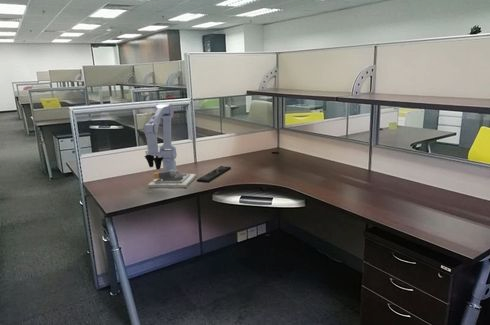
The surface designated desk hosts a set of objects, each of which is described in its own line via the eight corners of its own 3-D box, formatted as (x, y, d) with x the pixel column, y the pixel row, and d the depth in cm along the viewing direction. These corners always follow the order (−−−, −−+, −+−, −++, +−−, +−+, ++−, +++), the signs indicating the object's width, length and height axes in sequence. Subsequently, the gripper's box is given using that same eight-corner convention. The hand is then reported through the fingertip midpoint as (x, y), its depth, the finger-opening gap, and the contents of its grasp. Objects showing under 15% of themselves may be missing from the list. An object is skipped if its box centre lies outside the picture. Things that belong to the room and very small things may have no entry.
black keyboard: (231, 169, 236) (231, 166, 235) (208, 183, 207) (208, 180, 207) (220, 168, 239) (220, 165, 238) (197, 182, 210) (196, 178, 209)
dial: (180, 174, 218) (180, 166, 217) (185, 179, 208) (184, 171, 206) (153, 178, 212) (152, 170, 211) (156, 184, 201) (155, 175, 200)
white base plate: (161, 176, 223) (161, 172, 223) (196, 176, 220) (195, 172, 220) (147, 187, 202) (147, 183, 201) (185, 187, 199) (185, 183, 198)
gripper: (139, 144, 204) (142, 167, 207) (152, 147, 194) (155, 171, 197) (150, 142, 209) (153, 164, 212) (164, 145, 198) (166, 169, 202)
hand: (154, 168), depth 205 cm, fingers open, 7 cm apart
